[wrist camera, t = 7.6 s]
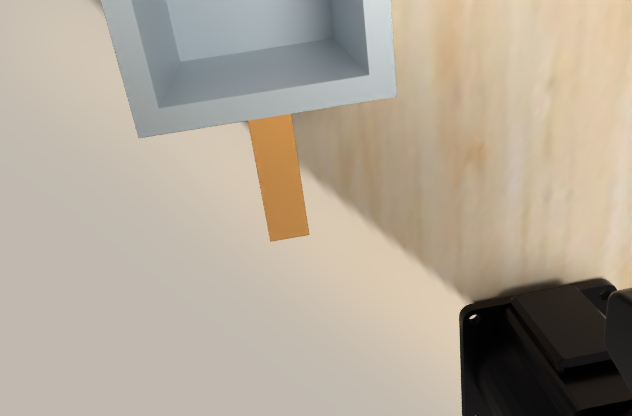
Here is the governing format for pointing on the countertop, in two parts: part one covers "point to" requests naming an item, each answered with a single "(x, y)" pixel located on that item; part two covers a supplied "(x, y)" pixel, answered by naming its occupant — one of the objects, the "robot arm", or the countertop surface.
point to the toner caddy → (252, 74)
